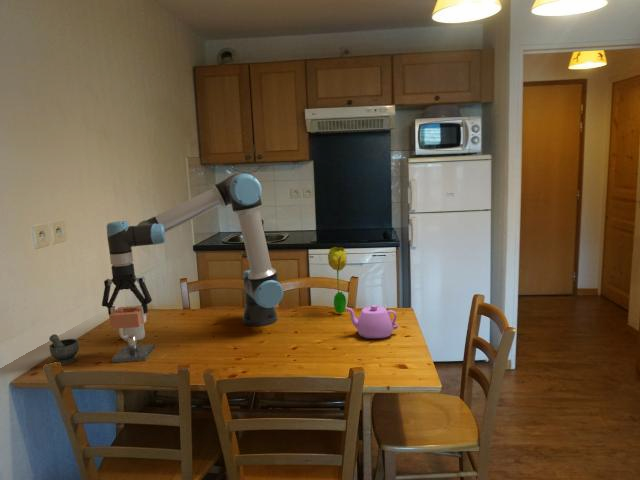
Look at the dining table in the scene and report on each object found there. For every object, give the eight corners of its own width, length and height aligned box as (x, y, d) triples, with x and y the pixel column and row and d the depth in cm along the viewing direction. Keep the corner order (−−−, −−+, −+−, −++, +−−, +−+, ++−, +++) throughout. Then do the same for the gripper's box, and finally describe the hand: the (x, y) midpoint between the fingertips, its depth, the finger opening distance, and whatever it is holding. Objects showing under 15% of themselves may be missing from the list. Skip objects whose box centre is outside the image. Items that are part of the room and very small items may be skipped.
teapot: (397, 328, 192) (396, 299, 190) (399, 340, 179) (398, 310, 177) (347, 329, 194) (345, 301, 192) (345, 341, 181) (344, 311, 179)
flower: (330, 312, 217) (326, 247, 212) (347, 310, 218) (344, 245, 213) (332, 318, 209) (328, 250, 204) (351, 316, 209) (347, 249, 205)
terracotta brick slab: (147, 318, 184) (146, 305, 183) (139, 326, 174) (137, 313, 173) (120, 319, 183) (119, 307, 182) (110, 328, 173) (109, 315, 173)
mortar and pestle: (62, 356, 184) (58, 326, 182) (86, 355, 183) (81, 325, 181) (43, 368, 173) (38, 336, 171) (68, 368, 172) (63, 336, 170)
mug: (129, 346, 190) (126, 321, 188) (112, 345, 193) (109, 320, 191) (149, 335, 201) (146, 311, 199) (133, 334, 204) (130, 310, 202)
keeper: (154, 347, 187) (152, 329, 185) (145, 360, 175) (142, 340, 174) (123, 350, 186) (121, 331, 185) (111, 363, 174) (109, 343, 173)
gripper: (156, 260, 179) (163, 317, 183) (94, 263, 178) (102, 321, 182) (150, 264, 172) (157, 324, 175) (86, 268, 171) (94, 328, 174)
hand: (129, 322), depth 178 cm, fingers closed on terracotta brick slab, 10 cm apart
